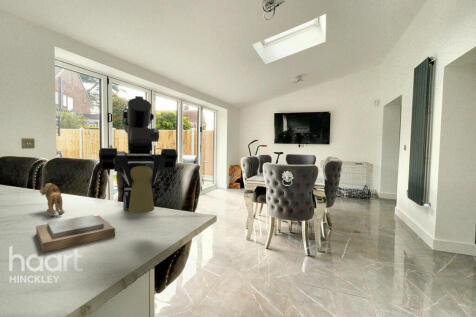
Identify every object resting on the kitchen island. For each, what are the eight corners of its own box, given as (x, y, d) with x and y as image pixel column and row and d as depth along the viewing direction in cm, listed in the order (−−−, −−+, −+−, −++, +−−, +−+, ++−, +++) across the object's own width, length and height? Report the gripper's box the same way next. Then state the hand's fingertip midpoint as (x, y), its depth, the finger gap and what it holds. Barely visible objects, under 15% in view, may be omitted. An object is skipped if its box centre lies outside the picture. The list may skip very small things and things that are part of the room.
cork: (159, 208, 62) (159, 165, 61) (142, 214, 56) (143, 167, 55) (140, 205, 64) (140, 164, 63) (122, 211, 58) (122, 166, 57)
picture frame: (99, 222, 70) (98, 211, 69) (115, 235, 60) (115, 224, 59) (36, 233, 60) (36, 222, 60) (43, 252, 50) (42, 238, 50)
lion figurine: (38, 209, 81) (37, 183, 81) (57, 206, 85) (57, 181, 85) (52, 218, 72) (51, 189, 72) (72, 214, 76) (72, 186, 76)
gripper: (99, 114, 58) (95, 164, 49) (176, 120, 66) (186, 162, 57) (101, 146, 65) (98, 194, 56) (170, 147, 74) (178, 189, 65)
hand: (142, 184), depth 58 cm, fingers closed on cork, 5 cm apart
